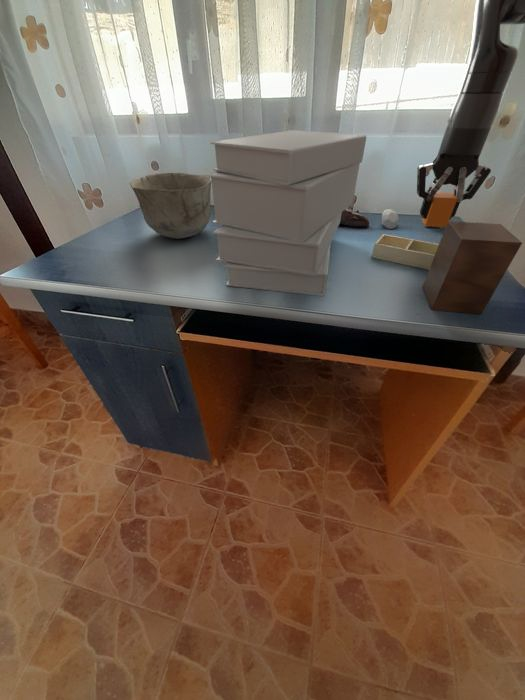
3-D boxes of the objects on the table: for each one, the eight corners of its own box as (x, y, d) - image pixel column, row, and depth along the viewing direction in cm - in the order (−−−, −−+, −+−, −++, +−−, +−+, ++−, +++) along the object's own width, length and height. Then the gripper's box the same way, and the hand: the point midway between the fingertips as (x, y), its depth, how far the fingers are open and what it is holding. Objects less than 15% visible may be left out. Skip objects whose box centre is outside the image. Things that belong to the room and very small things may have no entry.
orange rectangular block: (441, 220, 70) (451, 192, 66) (446, 227, 67) (457, 198, 63) (421, 219, 71) (430, 192, 67) (425, 226, 67) (435, 197, 63)
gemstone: (386, 211, 96) (396, 204, 91) (392, 229, 97) (404, 223, 92) (371, 217, 95) (381, 210, 90) (378, 236, 95) (388, 230, 90)
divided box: (468, 278, 68) (475, 263, 65) (371, 257, 77) (374, 243, 74) (471, 265, 73) (478, 251, 70) (379, 247, 82) (383, 233, 79)
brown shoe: (324, 229, 100) (346, 206, 99) (352, 245, 94) (375, 221, 94) (321, 215, 94) (344, 191, 94) (350, 232, 88) (375, 206, 88)
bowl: (167, 220, 100) (157, 169, 90) (228, 226, 96) (223, 173, 86) (128, 245, 85) (110, 186, 75) (198, 253, 80) (189, 192, 70)
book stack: (345, 238, 87) (364, 129, 70) (345, 301, 61) (375, 153, 44) (245, 231, 91) (241, 128, 74) (206, 287, 66) (185, 149, 49)
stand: (466, 291, 63) (500, 224, 54) (481, 314, 57) (522, 242, 48) (422, 287, 65) (447, 221, 56) (431, 310, 58) (462, 239, 49)
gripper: (433, 126, 55) (405, 221, 66) (519, 126, 53) (474, 225, 64) (425, 122, 60) (400, 211, 72) (502, 123, 58) (464, 214, 69)
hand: (435, 217), depth 68 cm, fingers closed on orange rectangular block, 4 cm apart
